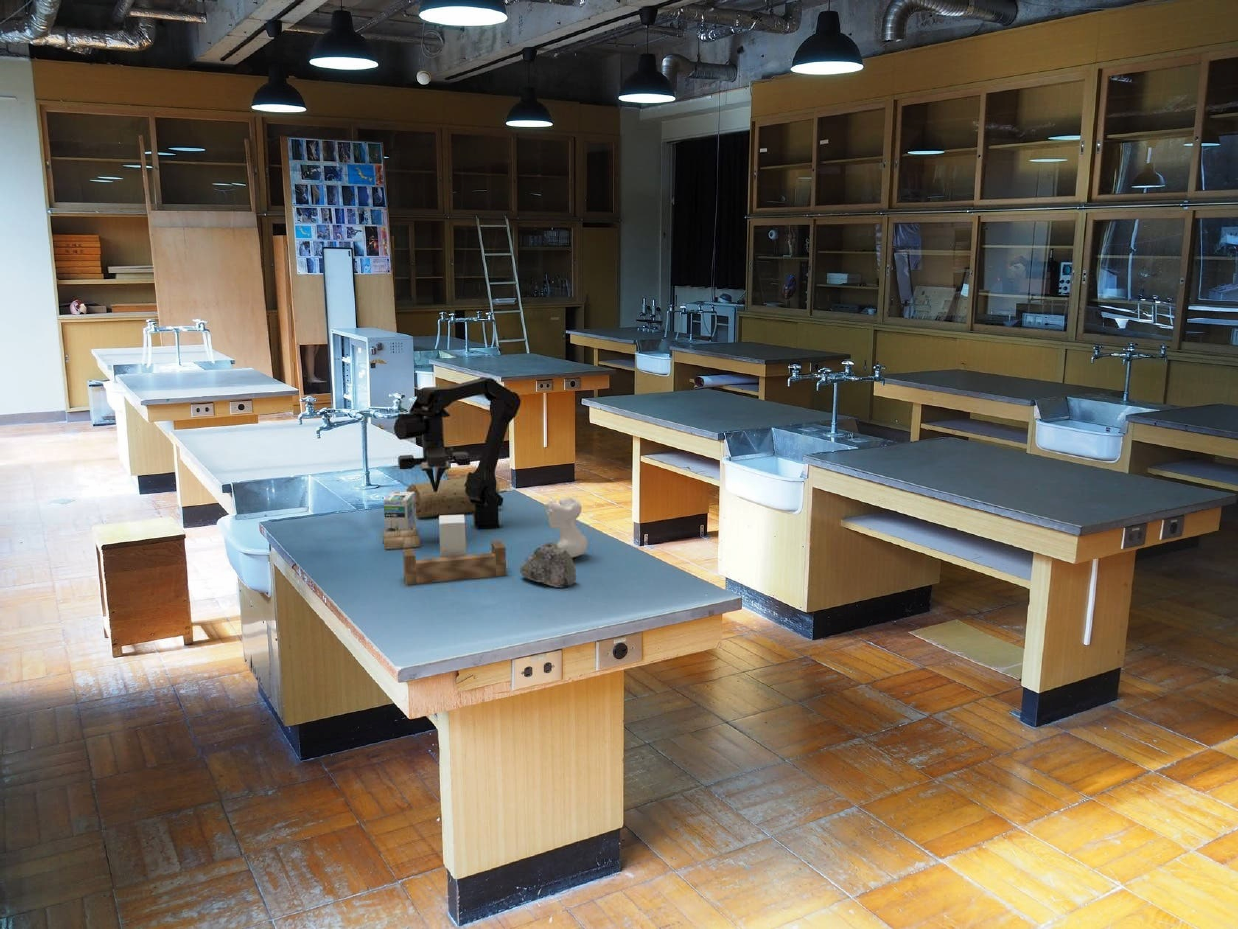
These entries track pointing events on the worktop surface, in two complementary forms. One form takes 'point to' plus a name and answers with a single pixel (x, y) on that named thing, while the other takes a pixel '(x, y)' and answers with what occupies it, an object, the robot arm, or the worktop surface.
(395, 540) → the roller
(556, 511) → the white bust sculpture
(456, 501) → the core sample
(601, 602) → the worktop surface
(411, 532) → the roller
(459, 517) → the small box
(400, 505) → the light bulb box
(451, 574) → the stop rail
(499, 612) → the worktop surface
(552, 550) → the mineral rock
